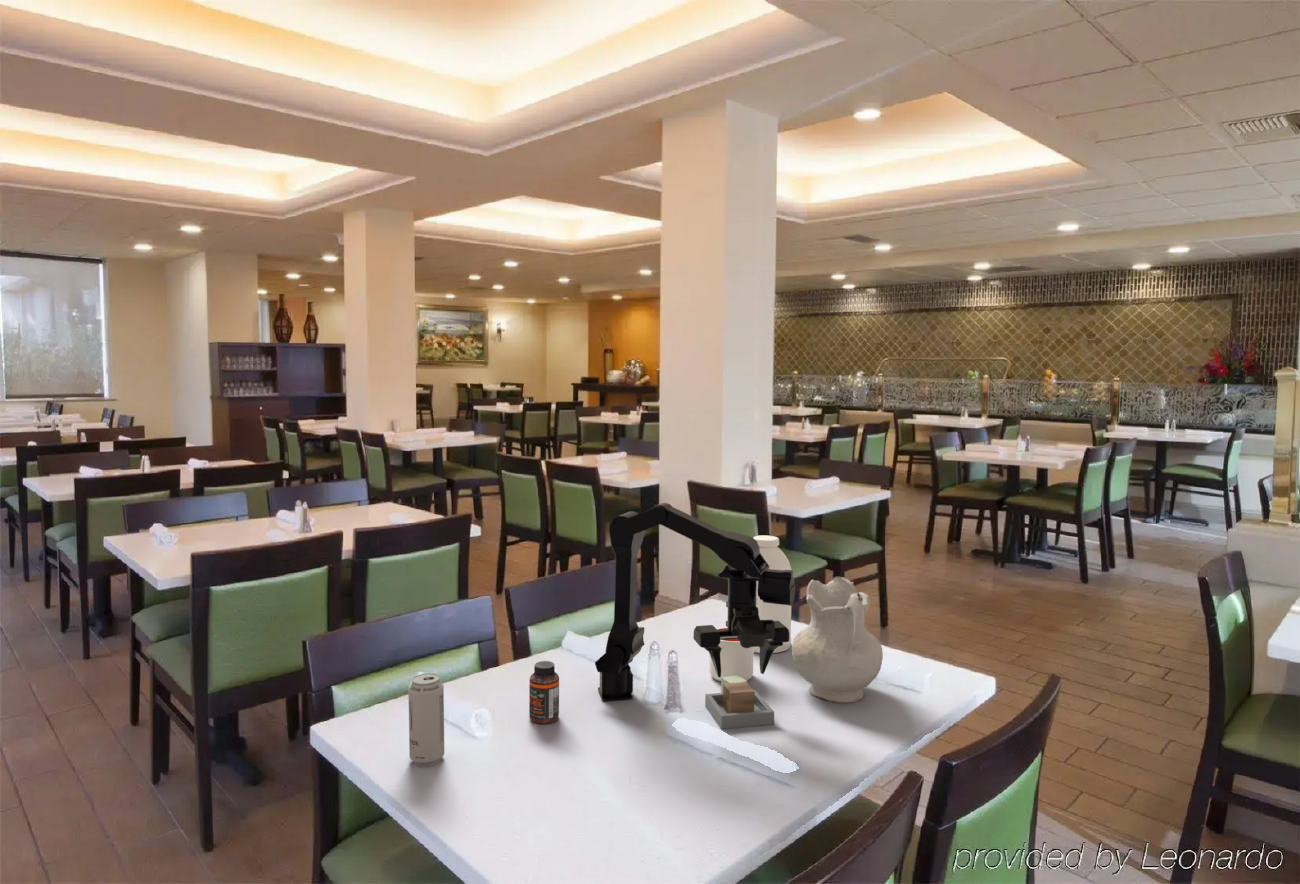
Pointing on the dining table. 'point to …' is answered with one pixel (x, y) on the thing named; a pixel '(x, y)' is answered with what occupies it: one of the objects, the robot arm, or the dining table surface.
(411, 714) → the energy drink can
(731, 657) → the cup
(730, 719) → the tray
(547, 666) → the supplement bottle
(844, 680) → the ceramic pitcher
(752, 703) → the walnut cube
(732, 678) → the sage cube
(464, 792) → the dining table surface
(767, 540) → the bottle
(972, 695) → the dining table surface
